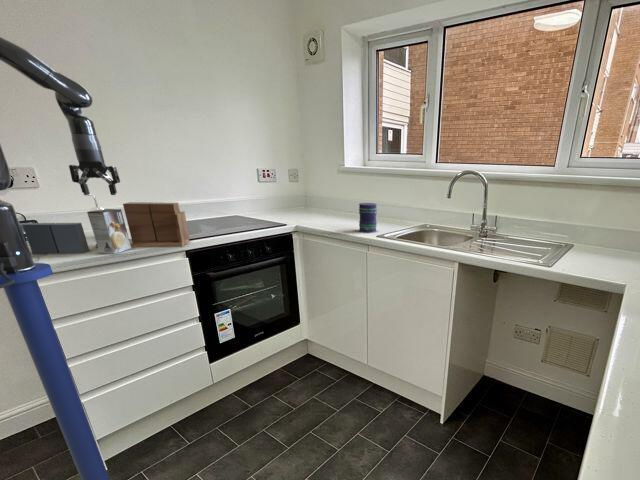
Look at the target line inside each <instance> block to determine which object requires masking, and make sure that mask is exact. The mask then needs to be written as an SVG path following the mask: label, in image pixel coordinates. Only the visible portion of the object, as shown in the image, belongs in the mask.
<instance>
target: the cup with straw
mask: <svg viewBox="0 0 640 480" xmlns="http://www.w3.org/2000/svg"><path fill="white" fill-rule="evenodd" d="M83 196H87V197H92V198H93V200H94V201H93V202H94V204H95V206H94V207H92V208H90V209H89V211H96V210H102V209H105V207H102V206H99V205H98V201H97V198H96V196H95V194H91V193H90V194H89V195H85V194H84V193H83ZM87 218H89V216H88V215H87Z"/></svg>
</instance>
